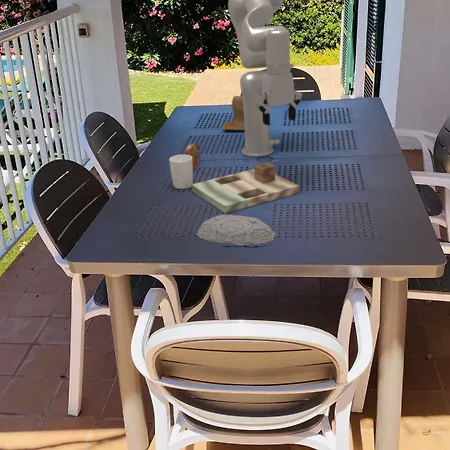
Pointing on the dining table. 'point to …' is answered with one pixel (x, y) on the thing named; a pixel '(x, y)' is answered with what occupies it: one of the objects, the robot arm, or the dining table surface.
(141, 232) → the dining table surface
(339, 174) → the dining table surface
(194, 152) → the tin
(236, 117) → the brown l-shaped block
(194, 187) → the board
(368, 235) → the dining table surface
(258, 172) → the walnut block
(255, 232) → the embossed grey dome
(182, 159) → the white cup
